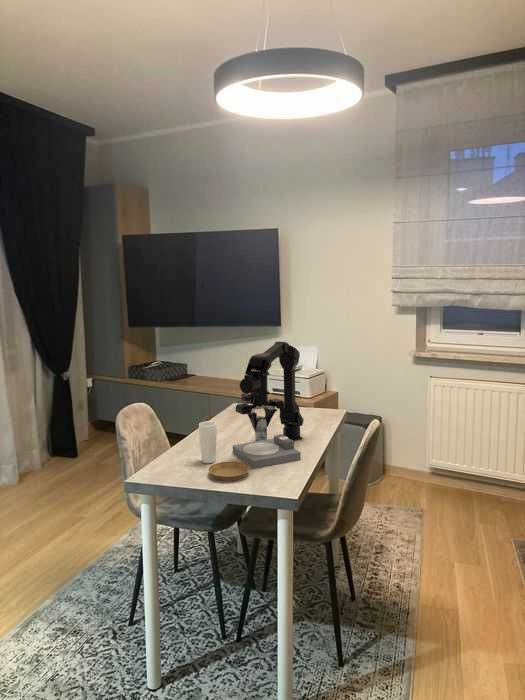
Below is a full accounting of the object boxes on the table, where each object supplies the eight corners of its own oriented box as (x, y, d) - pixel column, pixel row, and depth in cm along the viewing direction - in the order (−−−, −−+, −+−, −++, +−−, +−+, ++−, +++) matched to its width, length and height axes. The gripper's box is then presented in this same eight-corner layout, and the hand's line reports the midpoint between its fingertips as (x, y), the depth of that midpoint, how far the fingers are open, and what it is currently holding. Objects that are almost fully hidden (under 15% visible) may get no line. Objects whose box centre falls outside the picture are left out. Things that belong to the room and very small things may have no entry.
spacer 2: (263, 439, 229) (263, 427, 228) (269, 442, 224) (268, 430, 224) (253, 440, 227) (253, 429, 226) (258, 444, 222) (258, 432, 221)
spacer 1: (269, 431, 203) (269, 418, 202) (258, 433, 201) (257, 420, 200) (262, 427, 207) (262, 415, 207) (251, 429, 205) (251, 417, 204)
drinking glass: (214, 465, 199) (213, 426, 197) (197, 464, 200) (196, 425, 198) (219, 458, 206) (218, 421, 203) (203, 457, 207) (201, 420, 205)
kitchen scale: (276, 444, 221) (276, 430, 220) (300, 459, 203) (300, 443, 202) (232, 452, 212) (232, 437, 212) (253, 468, 195) (253, 452, 194)
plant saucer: (230, 464, 200) (230, 458, 199) (258, 474, 190) (258, 467, 189) (200, 475, 189) (199, 469, 189) (227, 487, 179) (227, 479, 179)
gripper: (270, 382, 213) (270, 419, 215) (228, 387, 204) (229, 426, 206) (285, 387, 204) (285, 426, 206) (242, 392, 194) (242, 433, 197)
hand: (260, 427), depth 204 cm, fingers closed on spacer 1, 5 cm apart
